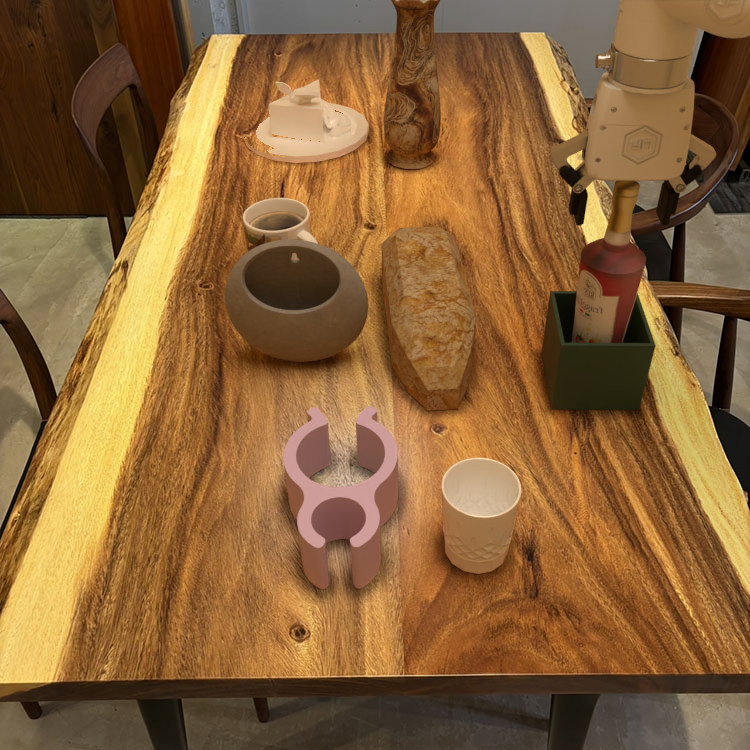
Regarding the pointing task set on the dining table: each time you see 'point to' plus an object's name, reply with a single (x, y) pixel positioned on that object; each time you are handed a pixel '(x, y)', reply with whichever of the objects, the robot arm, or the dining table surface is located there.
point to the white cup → (479, 513)
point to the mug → (277, 222)
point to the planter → (296, 300)
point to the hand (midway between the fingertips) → (619, 219)
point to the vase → (413, 87)
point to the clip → (341, 496)
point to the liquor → (609, 275)
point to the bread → (428, 315)
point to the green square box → (594, 361)
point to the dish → (309, 127)
